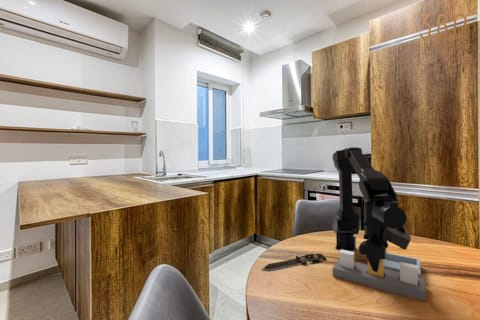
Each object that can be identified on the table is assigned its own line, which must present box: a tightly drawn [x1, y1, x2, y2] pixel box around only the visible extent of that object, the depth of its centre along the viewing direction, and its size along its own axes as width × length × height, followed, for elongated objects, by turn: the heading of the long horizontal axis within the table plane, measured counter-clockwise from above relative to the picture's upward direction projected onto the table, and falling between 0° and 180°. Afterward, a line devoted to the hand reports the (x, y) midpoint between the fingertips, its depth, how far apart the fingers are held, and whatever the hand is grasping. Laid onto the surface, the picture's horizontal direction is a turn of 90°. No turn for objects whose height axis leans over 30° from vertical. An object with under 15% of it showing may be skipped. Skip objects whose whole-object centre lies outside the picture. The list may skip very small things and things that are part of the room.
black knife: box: [261, 252, 327, 272], centre depth 82 cm, size 25×6×1 cm, turn 103°
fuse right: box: [400, 262, 418, 286], centre depth 64 cm, size 4×2×7 cm, turn 53°
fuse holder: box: [332, 257, 427, 303], centre depth 69 cm, size 23×8×2 cm, turn 53°
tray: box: [384, 252, 422, 278], centre depth 77 cm, size 14×12×2 cm
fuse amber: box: [367, 259, 384, 277], centre depth 69 cm, size 4×2×7 cm, turn 53°
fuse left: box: [339, 249, 356, 270], centre depth 74 cm, size 4×2×7 cm, turn 53°
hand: (375, 269), depth 69 cm, fingers closed on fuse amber, 2 cm apart
